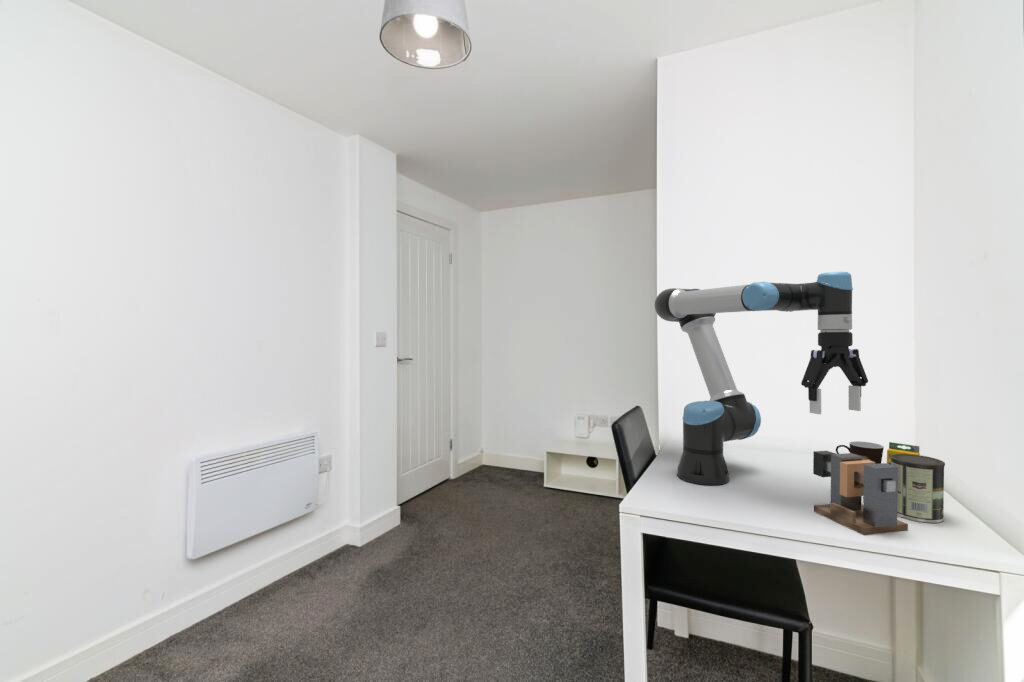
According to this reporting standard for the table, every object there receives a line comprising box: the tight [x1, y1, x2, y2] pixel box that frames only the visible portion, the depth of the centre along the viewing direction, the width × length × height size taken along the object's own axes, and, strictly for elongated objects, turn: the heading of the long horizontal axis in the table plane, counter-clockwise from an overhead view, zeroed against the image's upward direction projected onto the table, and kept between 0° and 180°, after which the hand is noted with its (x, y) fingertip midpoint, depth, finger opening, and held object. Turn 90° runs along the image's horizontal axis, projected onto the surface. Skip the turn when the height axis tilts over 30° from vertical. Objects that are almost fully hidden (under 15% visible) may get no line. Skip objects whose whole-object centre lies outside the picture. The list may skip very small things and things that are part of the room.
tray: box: [813, 503, 909, 536], centre depth 115 cm, size 14×12×4 cm
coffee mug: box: [835, 440, 885, 464], centre depth 149 cm, size 12×9×10 cm
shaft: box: [812, 450, 896, 492], centre depth 116 cm, size 20×4×6 cm, turn 11°
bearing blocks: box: [829, 452, 898, 527], centre depth 114 cm, size 12×6×14 cm, turn 11°
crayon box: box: [886, 441, 921, 465], centre depth 141 cm, size 7×3×12 cm, turn 43°
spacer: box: [840, 460, 875, 497], centre depth 115 cm, size 2×8×8 cm, turn 101°
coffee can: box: [891, 454, 946, 524], centre depth 118 cm, size 10×10×14 cm
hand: (835, 412), depth 124 cm, fingers open, 13 cm apart
